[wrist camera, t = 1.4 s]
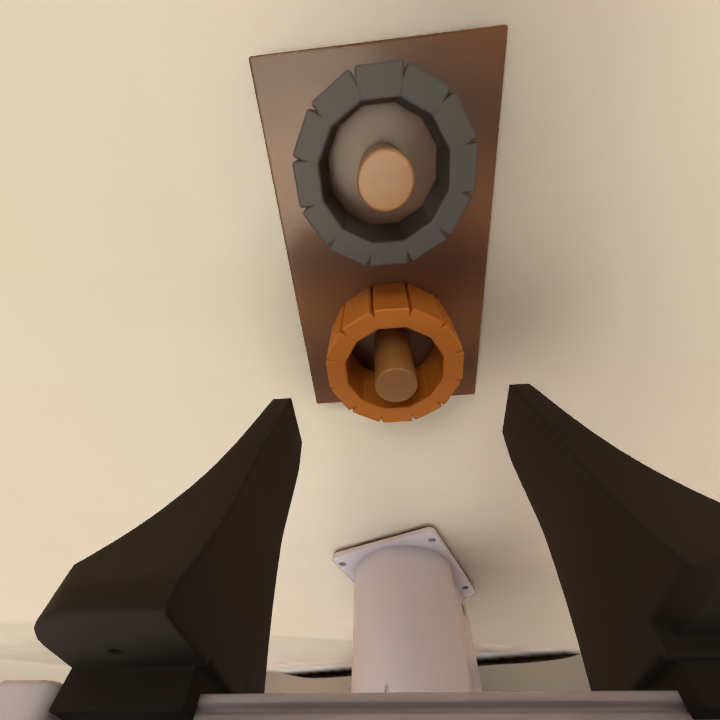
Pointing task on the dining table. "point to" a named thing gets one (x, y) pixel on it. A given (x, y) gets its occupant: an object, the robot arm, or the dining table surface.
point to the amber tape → (394, 310)
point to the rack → (385, 194)
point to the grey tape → (452, 163)
